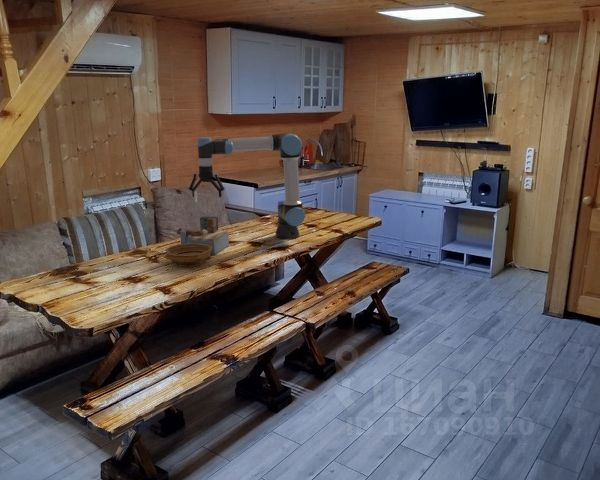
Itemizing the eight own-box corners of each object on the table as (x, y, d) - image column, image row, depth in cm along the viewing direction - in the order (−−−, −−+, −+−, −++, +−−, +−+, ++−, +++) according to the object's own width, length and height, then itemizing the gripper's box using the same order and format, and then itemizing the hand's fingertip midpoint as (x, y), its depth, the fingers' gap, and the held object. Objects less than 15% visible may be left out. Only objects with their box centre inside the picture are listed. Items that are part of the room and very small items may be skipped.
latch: (203, 234, 307) (203, 228, 306) (201, 235, 304) (200, 230, 303) (179, 232, 311) (179, 227, 310) (177, 234, 308) (176, 228, 307)
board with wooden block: (227, 233, 316) (226, 217, 314) (213, 241, 298) (212, 225, 296) (203, 231, 320) (202, 216, 318) (188, 239, 302) (187, 223, 300)
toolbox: (228, 246, 318) (227, 226, 315) (214, 255, 300) (213, 234, 297) (195, 243, 324) (194, 224, 321) (179, 252, 306) (177, 232, 302)
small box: (218, 231, 353) (218, 216, 350) (216, 234, 346) (215, 218, 344) (203, 231, 354) (202, 216, 351) (200, 234, 347) (199, 218, 345)
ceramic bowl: (179, 274, 267) (178, 259, 265) (152, 265, 283) (151, 250, 281) (225, 261, 288) (224, 247, 286) (198, 253, 304) (197, 239, 302)
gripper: (228, 164, 303) (230, 201, 308) (186, 164, 306) (188, 200, 311) (225, 166, 296) (226, 204, 301) (181, 165, 299) (184, 203, 304)
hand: (207, 202), depth 306 cm, fingers open, 13 cm apart
